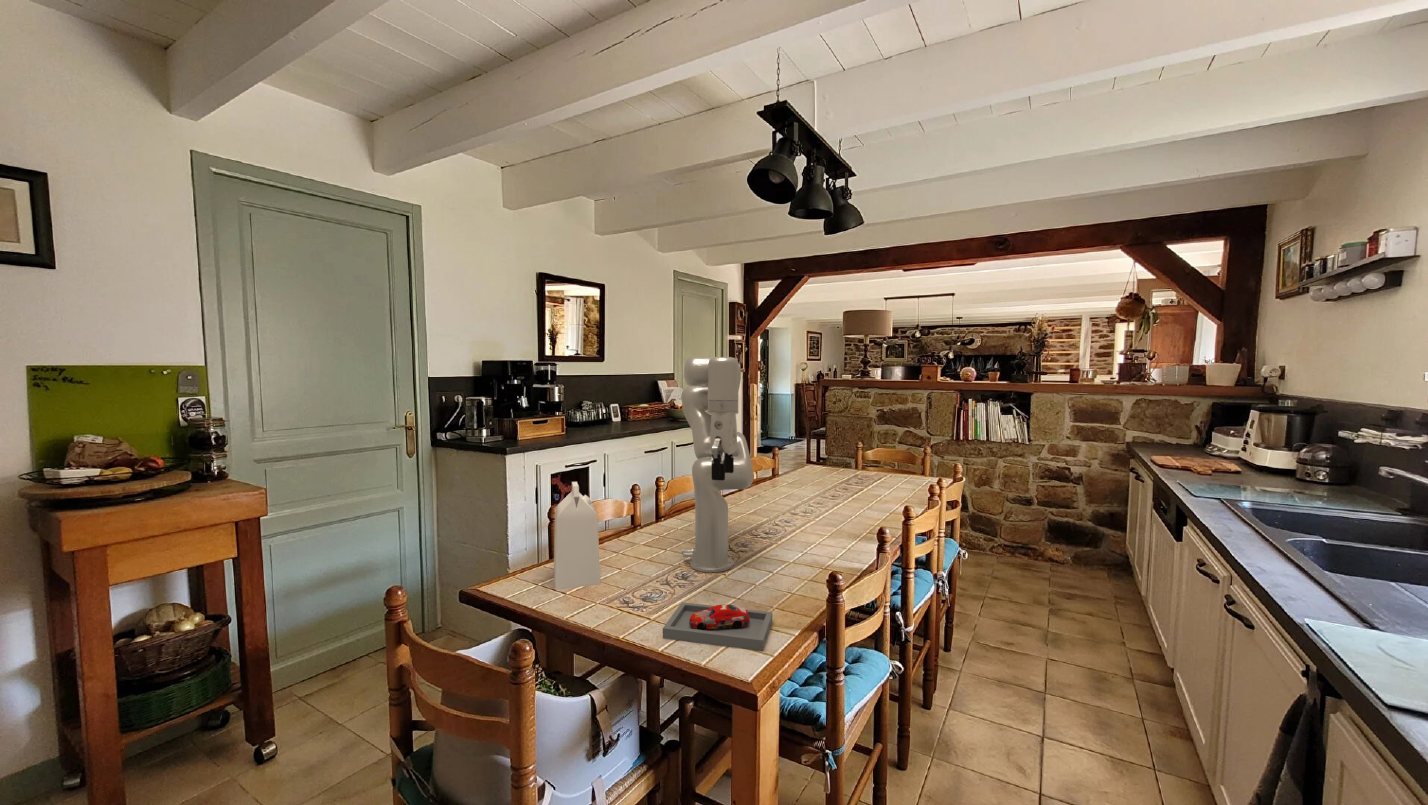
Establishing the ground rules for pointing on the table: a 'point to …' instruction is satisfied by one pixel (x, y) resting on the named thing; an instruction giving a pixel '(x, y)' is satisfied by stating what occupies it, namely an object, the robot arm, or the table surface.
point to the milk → (576, 542)
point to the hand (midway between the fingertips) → (722, 476)
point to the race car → (720, 617)
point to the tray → (719, 629)
